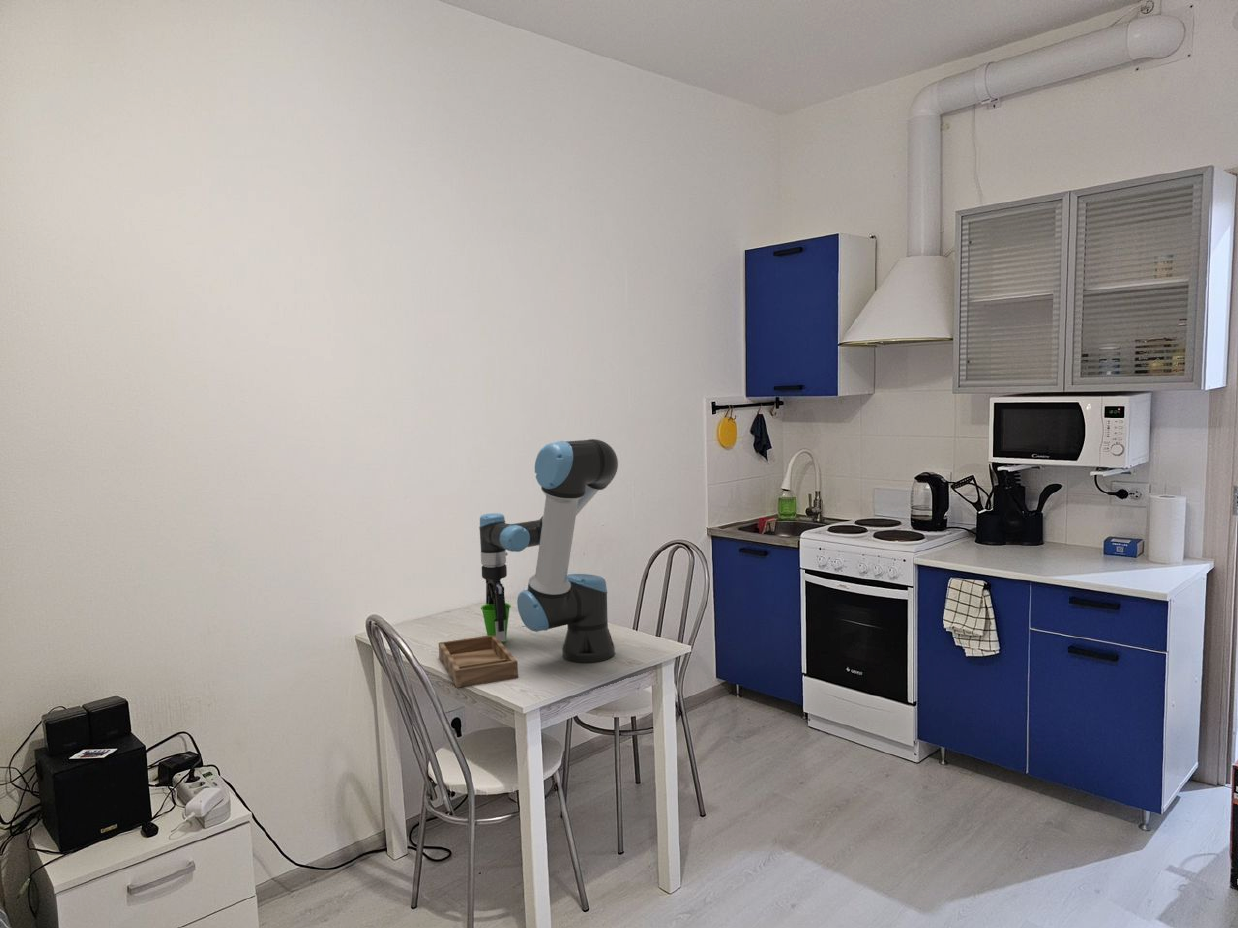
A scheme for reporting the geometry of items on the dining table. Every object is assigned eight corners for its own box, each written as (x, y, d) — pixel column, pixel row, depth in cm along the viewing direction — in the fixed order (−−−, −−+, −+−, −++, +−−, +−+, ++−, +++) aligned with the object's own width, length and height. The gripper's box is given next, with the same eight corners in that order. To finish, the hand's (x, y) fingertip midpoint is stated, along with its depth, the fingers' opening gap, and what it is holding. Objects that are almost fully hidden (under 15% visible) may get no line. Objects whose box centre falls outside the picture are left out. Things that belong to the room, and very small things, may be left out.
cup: (506, 646, 244) (504, 610, 243) (477, 645, 246) (476, 610, 245) (516, 637, 253) (514, 602, 252) (488, 636, 255) (486, 602, 254)
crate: (518, 677, 218) (517, 661, 217) (456, 687, 212) (455, 670, 211) (495, 649, 242) (494, 634, 242) (439, 657, 236) (438, 642, 236)
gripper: (515, 570, 239) (518, 645, 241) (497, 556, 259) (500, 626, 261) (489, 573, 236) (493, 648, 238) (474, 559, 256) (477, 629, 258)
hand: (497, 636), depth 250 cm, fingers closed on cup, 9 cm apart
